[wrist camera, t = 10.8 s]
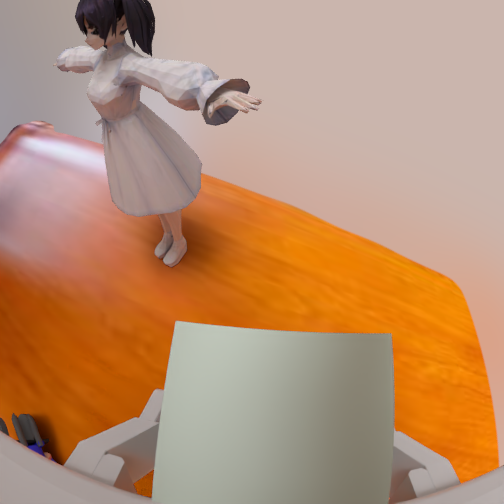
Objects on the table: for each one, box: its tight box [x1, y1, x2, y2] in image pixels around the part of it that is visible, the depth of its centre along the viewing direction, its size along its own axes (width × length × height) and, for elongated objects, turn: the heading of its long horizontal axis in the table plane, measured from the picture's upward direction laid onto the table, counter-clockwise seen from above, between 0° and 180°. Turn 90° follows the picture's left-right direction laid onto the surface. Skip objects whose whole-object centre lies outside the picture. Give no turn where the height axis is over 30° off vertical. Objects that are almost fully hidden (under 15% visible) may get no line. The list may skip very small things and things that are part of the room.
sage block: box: [152, 321, 394, 504], centre depth 9 cm, size 4×4×10 cm
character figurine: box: [0, 413, 57, 463], centre depth 16 cm, size 8×7×15 cm
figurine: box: [53, 0, 262, 267], centre depth 23 cm, size 25×8×30 cm, turn 51°
